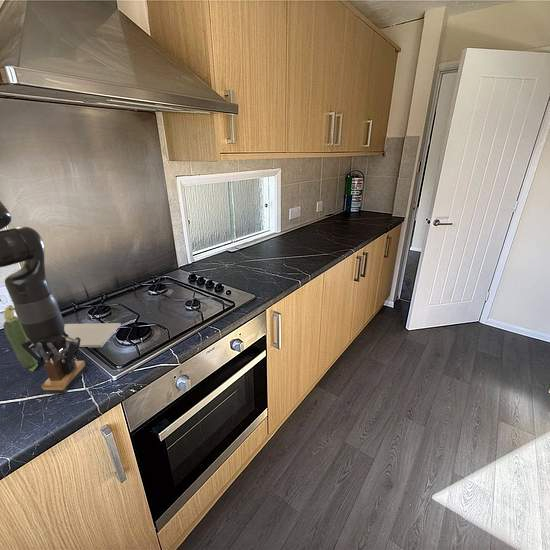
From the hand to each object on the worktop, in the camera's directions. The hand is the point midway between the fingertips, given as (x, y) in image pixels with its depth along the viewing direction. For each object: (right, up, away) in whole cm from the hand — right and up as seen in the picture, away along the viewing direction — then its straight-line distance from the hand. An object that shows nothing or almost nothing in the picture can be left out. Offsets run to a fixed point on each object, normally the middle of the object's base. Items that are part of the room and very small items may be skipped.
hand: (63, 372), depth 75 cm
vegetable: (-13, -1, +6) cm, 14 cm away
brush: (0, -3, +1) cm, 3 cm away
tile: (-8, +5, +20) cm, 22 cm away
